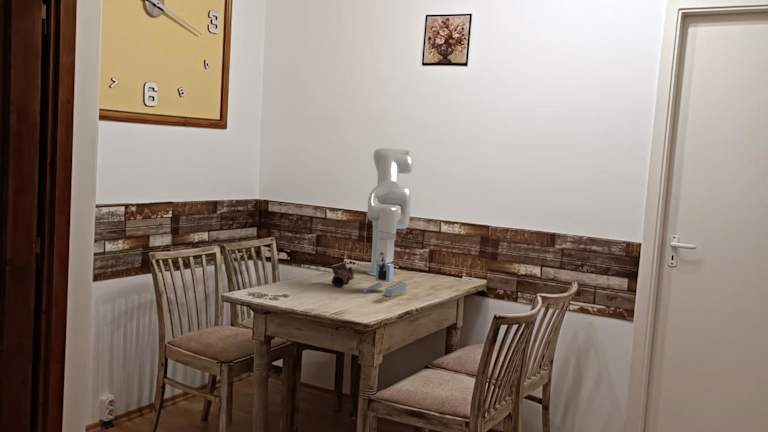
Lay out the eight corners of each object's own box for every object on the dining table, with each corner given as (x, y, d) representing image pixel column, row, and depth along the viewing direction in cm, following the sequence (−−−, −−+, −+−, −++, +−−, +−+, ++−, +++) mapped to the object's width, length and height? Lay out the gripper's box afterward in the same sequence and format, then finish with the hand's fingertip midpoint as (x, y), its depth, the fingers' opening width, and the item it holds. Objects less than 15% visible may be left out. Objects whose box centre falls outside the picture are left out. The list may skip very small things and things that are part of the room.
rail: (363, 293, 319) (363, 284, 318) (378, 286, 336) (378, 277, 335) (392, 296, 315) (392, 288, 314) (405, 289, 332) (406, 281, 331)
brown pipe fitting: (356, 275, 343) (348, 255, 340) (349, 290, 326) (340, 269, 324) (343, 279, 344) (335, 259, 342) (335, 294, 328) (327, 273, 326)
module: (375, 280, 323) (376, 263, 323) (379, 278, 328) (380, 262, 327) (388, 282, 321) (390, 265, 321) (392, 280, 326) (393, 263, 325)
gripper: (385, 233, 332) (382, 275, 334) (371, 236, 316) (368, 280, 318) (401, 235, 330) (399, 277, 331) (388, 238, 314) (385, 282, 315)
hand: (384, 278), depth 325 cm, fingers closed on module, 5 cm apart
